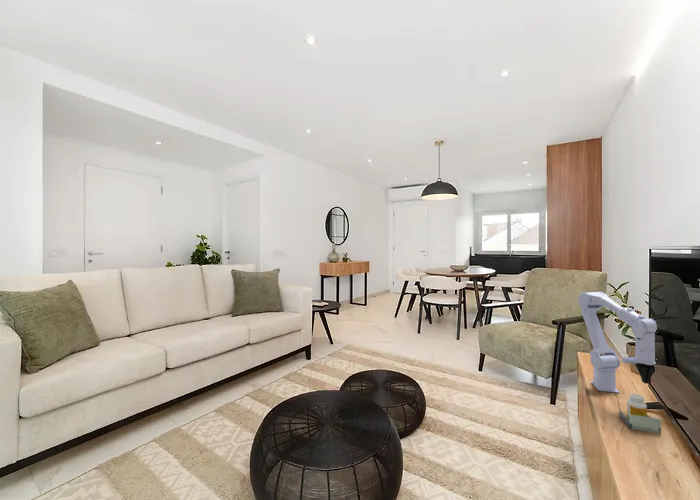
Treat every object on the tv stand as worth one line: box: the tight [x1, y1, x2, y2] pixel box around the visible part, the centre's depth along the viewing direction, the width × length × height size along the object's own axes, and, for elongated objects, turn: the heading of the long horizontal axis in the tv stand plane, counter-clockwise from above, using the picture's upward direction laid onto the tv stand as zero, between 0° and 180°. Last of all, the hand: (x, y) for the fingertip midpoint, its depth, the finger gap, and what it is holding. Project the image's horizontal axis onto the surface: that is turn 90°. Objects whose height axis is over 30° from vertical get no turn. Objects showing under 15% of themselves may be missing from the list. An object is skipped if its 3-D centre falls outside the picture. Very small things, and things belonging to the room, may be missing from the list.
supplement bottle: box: [626, 393, 648, 420], centre depth 117 cm, size 5×5×10 cm
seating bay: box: [618, 410, 662, 434], centre depth 116 cm, size 9×9×5 cm
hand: (645, 382), depth 127 cm, fingers closed
